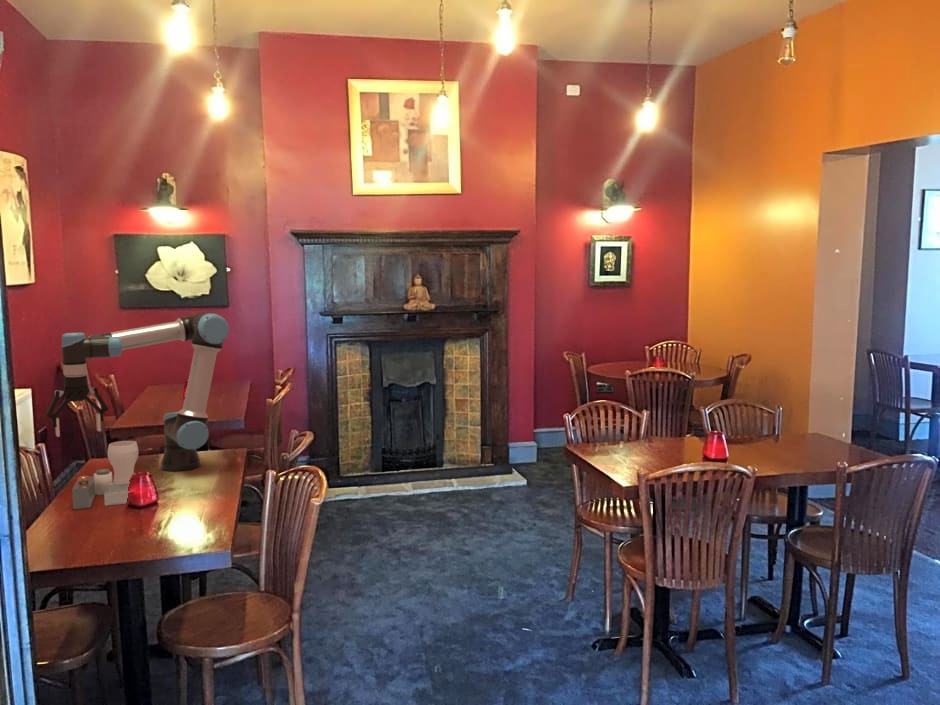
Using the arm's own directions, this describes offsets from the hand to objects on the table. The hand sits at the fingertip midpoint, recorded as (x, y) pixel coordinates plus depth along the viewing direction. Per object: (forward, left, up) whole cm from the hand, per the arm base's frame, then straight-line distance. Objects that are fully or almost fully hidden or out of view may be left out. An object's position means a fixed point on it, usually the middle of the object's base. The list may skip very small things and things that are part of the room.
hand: (78, 433), depth 269 cm
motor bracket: (-9, +16, -21) cm, 28 cm away
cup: (-14, -7, -21) cm, 26 cm away
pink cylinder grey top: (-8, +5, -21) cm, 23 cm away
